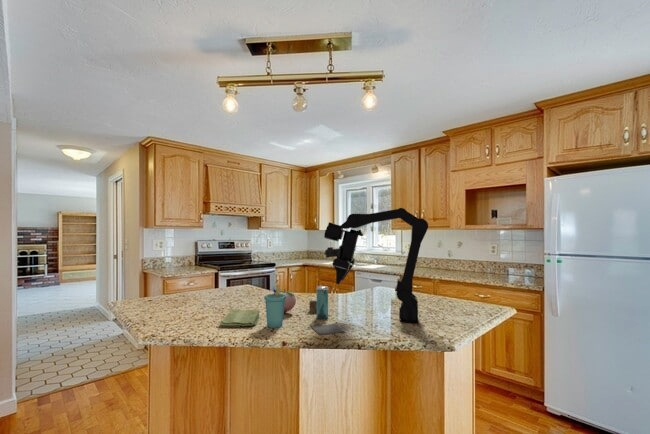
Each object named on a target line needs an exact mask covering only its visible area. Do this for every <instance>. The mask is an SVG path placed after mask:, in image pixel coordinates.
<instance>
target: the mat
mask: <svg viewBox="0 0 650 434" xmlns="http://www.w3.org/2000/svg"><path fill="white" fill-rule="evenodd" d="M311 327H312V328H311V329H312V330H314V331H315V332H316V333H317V334H318V335H319V336H323V335H333V334H343V333H345V330H344V329H342V328H341V327H340V326H339V325H337V324H336V323H330V324H329V323H328V324H319V325H311Z"/></svg>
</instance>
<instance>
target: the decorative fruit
mask: <svg viewBox="0 0 650 434" xmlns="http://www.w3.org/2000/svg"><path fill="white" fill-rule="evenodd" d="M280 294H283V295H285V296H286V299H285V303H284V313H283V314H286V313H288V312H289V311H291V310H292V309H293V308H294V307H295V305H296V303H297V298H296V295H295V294H294V292H292V291H286V288H284V290H280Z"/></svg>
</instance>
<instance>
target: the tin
mask: <svg viewBox="0 0 650 434" xmlns="http://www.w3.org/2000/svg"><path fill="white" fill-rule="evenodd" d="M315 289H316V299H317V312H316V319H318V320H327V319H329V286H327V285H317V286H316V288H315Z"/></svg>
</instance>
